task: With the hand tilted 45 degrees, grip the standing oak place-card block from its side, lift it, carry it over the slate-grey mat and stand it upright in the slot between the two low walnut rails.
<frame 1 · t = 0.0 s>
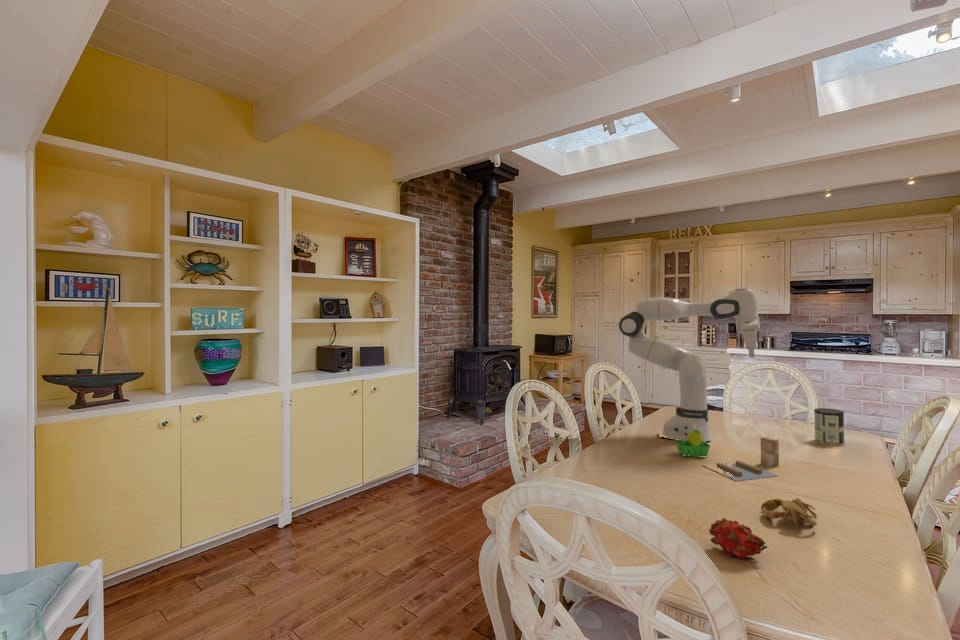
hand: (752, 356, 187), 39 cm above the table, tool pointing down, fingers open, 8 cm apart
card block: (769, 464, 163), on the table
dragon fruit: (736, 555, 102), on the table
coffee can: (829, 442, 190), on the table
fruit basket: (693, 456, 175), on the table
mat: (738, 470, 157), on the table
crab model: (788, 521, 119), on the table
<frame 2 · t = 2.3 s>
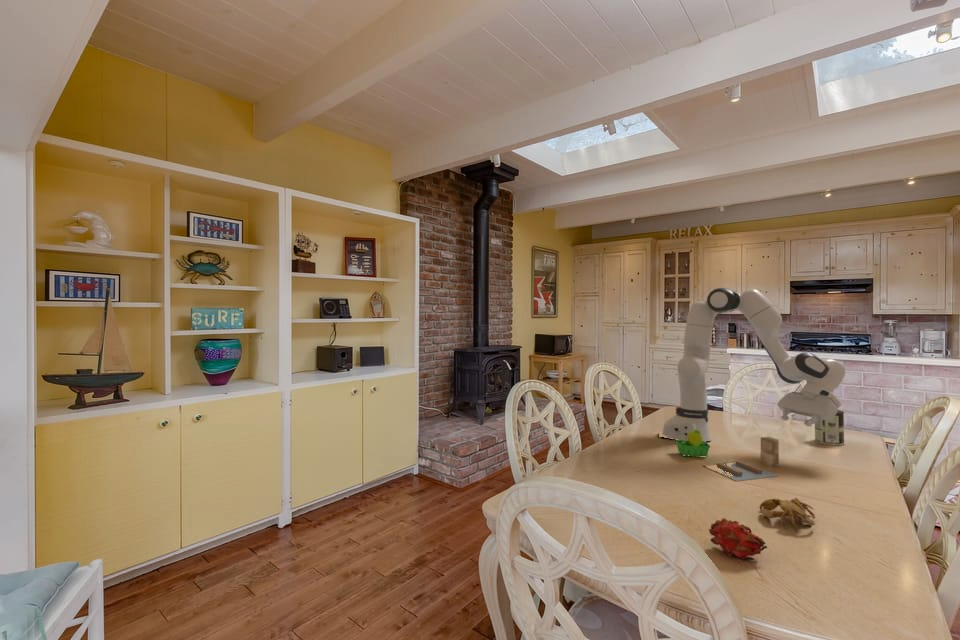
hand: (795, 422, 166), 15 cm above the table, tool tilted 45°, fingers open, 8 cm apart
nothing on the table moved.
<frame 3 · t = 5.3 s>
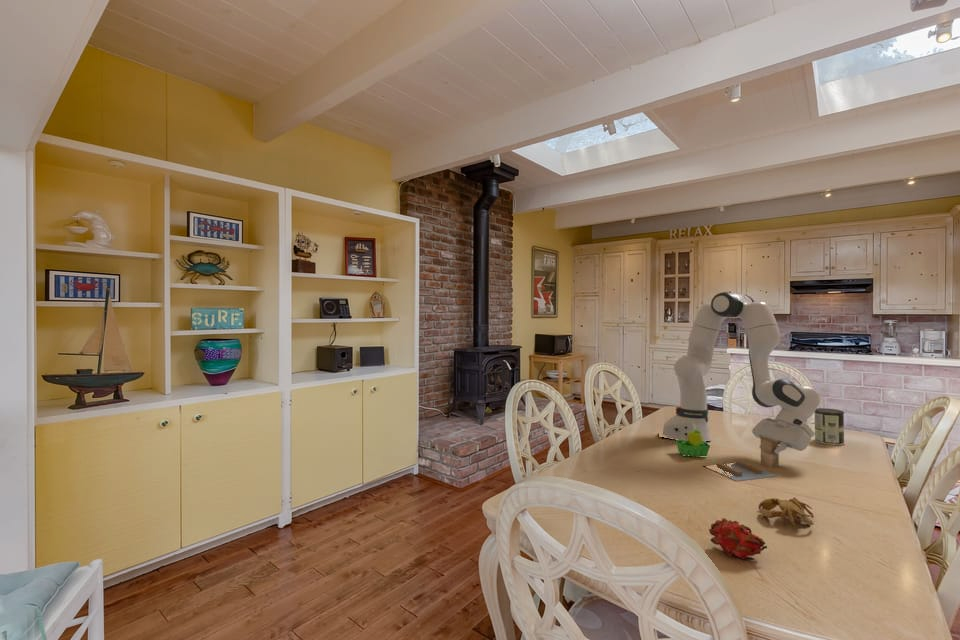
hand: (768, 450, 163), 5 cm above the table, tool tilted 45°, fingers closed on card block, 4 cm apart
card block: (769, 464, 163), on the table, touching gripper
everything else where it was.
when the fingers open (7 cm above the table, at t = 11.9 s): card block drops 1 cm, resting on mat.
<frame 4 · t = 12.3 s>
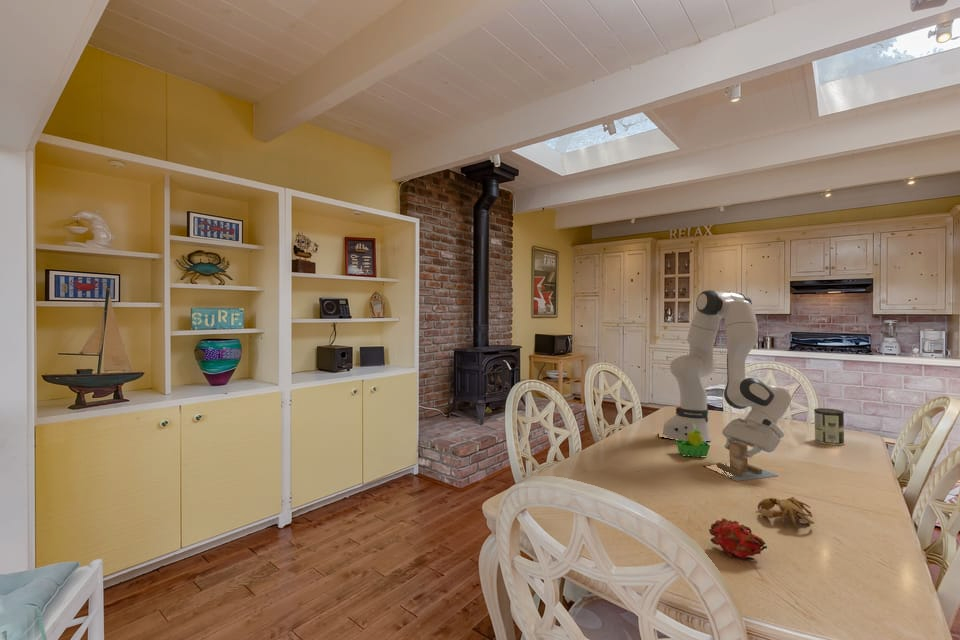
hand: (737, 452, 157), 7 cm above the table, tool tilted 45°, fingers open, 8 cm apart
card block: (738, 470, 157), resting on mat
everything else where it was.
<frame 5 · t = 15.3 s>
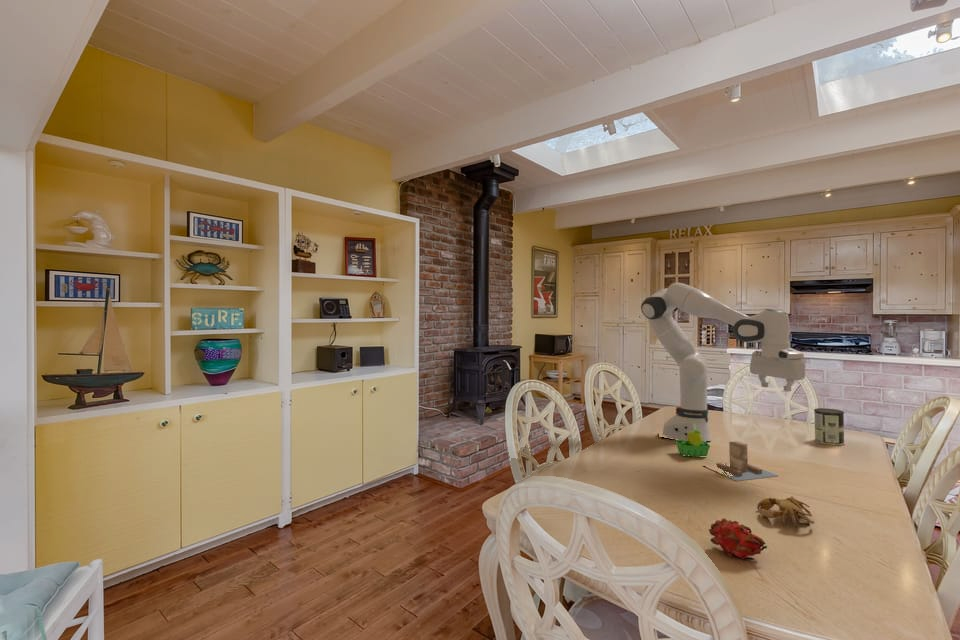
hand: (775, 389, 161), 29 cm above the table, tool pointing down, fingers open, 8 cm apart
nothing on the table moved.
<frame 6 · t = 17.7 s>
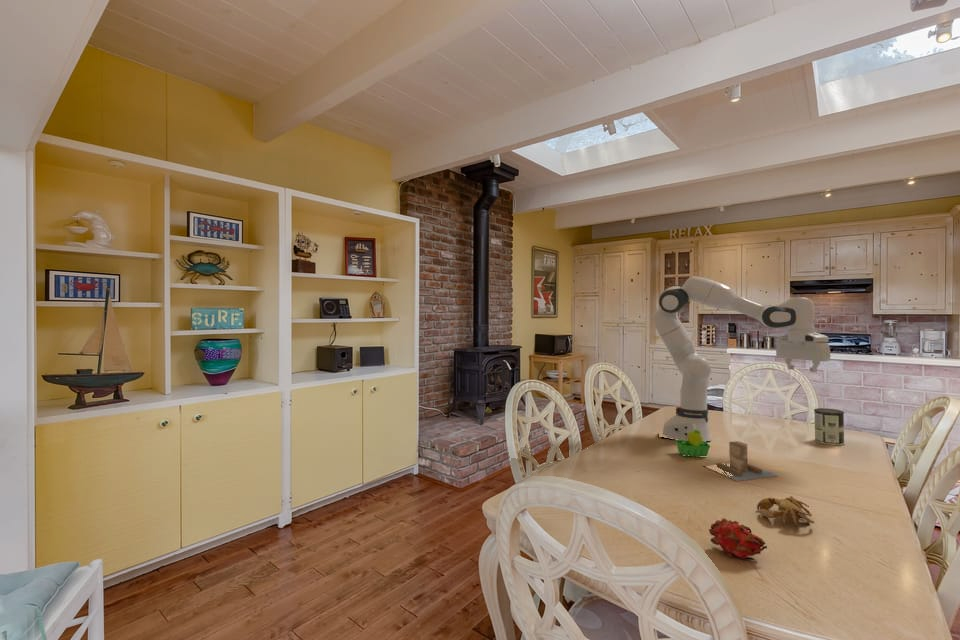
hand: (801, 370, 174), 34 cm above the table, tool pointing down, fingers open, 8 cm apart
nothing on the table moved.
at the end: card block inside the target area on the mat (0.1 cm from its centre), point 0.2 cm above the mat's base; card block tilted 0°; the gripper is holding nothing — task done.
